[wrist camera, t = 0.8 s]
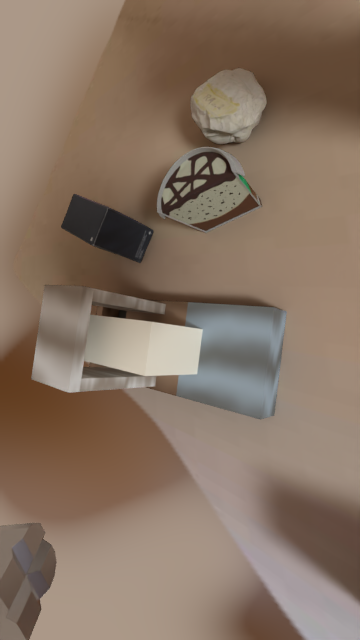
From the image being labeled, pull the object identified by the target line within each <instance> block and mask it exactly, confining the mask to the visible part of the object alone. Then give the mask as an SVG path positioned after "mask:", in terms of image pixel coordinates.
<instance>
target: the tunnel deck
mask: <svg viewBox="0 0 360 640" xmlns="http://www.w3.org/2000/svg"><path fill="white" fill-rule="evenodd" d="M91 305H96V306H97V312H96V315H98V316H106V317H115V318H124V319H133V320H141V321H150V322H157V323H164V324H171V325H177V326H184V327H191V328H198V329H203V331H202V339H201V347H200V355H199V363H198V371H197V374H191V375H161V376H143V375H139V374H135V373H131V372H127V371H123V370H119V369H115V368H111V367H107V366H103V365H99V364H95V363H91V362H90V364H89V367H83V363H84V356H85V349H86V342H87V334H88V327H89V320H90V313H91ZM285 320H286V311H283V310H280V309H277V308H274V307H260V306H244V305H227V304H211V303H195V302H178V301H162V300H146V299H140V298H135V297H131V296H126V295H122V294H117V293H112V292H108V291H103V290H99V289H94V288H90V287H85V286H65V285H45V287H44V294H43V301H42V308H41V315H40V322H39V329H38V336H37V344H36V350H35V357H34V364H33V371H32V378H31V379H33V380H35V381H38V382H41V383H44V384H47V385H49V386H52V387H55V388H58V389H60V390H63V391H66V392H80V391H95V390H110V389H124V388H138V387H147V388H150V389H154V390H157V391H161V392H164V393H168V394H172V395H175V396H179V397H182V398H186V399H189V400H193V401H197V402H200V403H204V404H207V405H211V406H214V407H218V408H222V409H225V410H229V411H232V412H236V413H239V414H243V415H247V416H250V417H254V418H257V419H263V418H267V417H270V416H274V412H275V404H276V396H277V387H278V379H279V370H280V362H281V354H282V345H283V337H284V328H285Z"/></svg>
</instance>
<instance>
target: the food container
mask: <svg viewBox="0 0 360 640" xmlns="http://www.w3.org/2000/svg"><path fill="white" fill-rule="evenodd" d="M243 176H245V174H244V171H243V168H242V166H241V164H240V163H239V161H238V160H237V159H236V158H235V157H234V156H232V155H231V154H229V153H227V152H225V151H223V150H221V149H218V148H214V147H201V148H196V149H194V150H191V151H189V152H188V153H186V154H185V155H183V156H182V157H181V158H179V159H178V160H177V161H176V162H175V163H174V165H173V166H172V167H171V168H170V170H169V171H168V173H167V174H166V176H165V178H164V180H163V182H162V184H161V187H160V190H159V193H158V199H157V213H159V216H161V217H162V218H163V219H165V216H166V217H168V218H171V219H173V220H175V221H178V222H180V223H183V224H185V225H188V226H190V227H192V228H195V229H197V230H200V231H202V232H205V233H206V232H209V231H211V230H213V229H215V228H217V227H219V226H222V225H224V224H226V223H228V222H230V221H232V220H234V219H237V218H239V217H241V216H243V215H245V214H247V213H249V212H252V211H254V210H256V209H258V208H260V207H262V204H261V201H260V199H259V197H258V196H257V194H256V193H255V192H254V190H253V189H252V188H251V187H250V185H249V184H248V183H247V181H246V180H245V179H244V178H243Z"/></svg>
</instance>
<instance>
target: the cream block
mask: <svg viewBox="0 0 360 640" xmlns="http://www.w3.org/2000/svg"><path fill="white" fill-rule="evenodd" d="M202 331H203V329H198V328H191V327H184V326H177V325H171V324H164V323H157V322H150V321H141V320H133V319H124V318H115V317H106V316H98V315H90V320H89V327H88V334H87V342H86V349H85V356H84V361H87V362H91V363H95V364H99V365H103V366H107V367H111V368H115V369H119V370H123V371H127V372H131V373H135V374H139V375H143V376H161V375H191V374H197V371H198V363H199V355H200V347H201V339H202Z"/></svg>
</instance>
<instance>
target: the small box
mask: <svg viewBox="0 0 360 640" xmlns="http://www.w3.org/2000/svg"><path fill="white" fill-rule="evenodd" d="M61 228H63V229H64V230H66V231H68V232H70V233H71V234H73V235H75V236H77V237H78V238H80V239H82V240H84V241H85V242H87V243H89V244H91V245H92V246H94V247H97V248H100V249H103V250H106V251H109V252H112V253H114V254H118V255H120V256H123V257H126V258H129V259H131V260H133V261H136V262H139V263H140V262H141V261H142V258H143V256H144V253H145V251H146V248H147V246H148V244H149V241H150V239H151V237H152V234H153V230H152V229H150V228H148V227H147V226H145V225H143V224H142V223H139V222H138V221H136V220H134V219H132V218H130V217H128V216H126V215H123V214H121V213H119V212H117V211H115V210H113V209H111V208H109V207H107V206H105V205H102V204H100V203H97V202H95V201H92V200H90V199H87V198H84V197H82V196H79V195H76V194H74V195H73V197H72V200H71V202H70V205H69V208H68V210H67V213H66V216H65V218H64V221H63V223H62V226H61Z"/></svg>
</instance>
